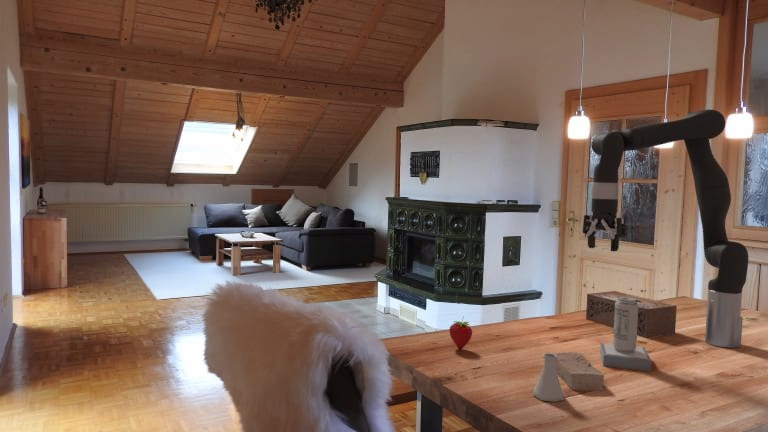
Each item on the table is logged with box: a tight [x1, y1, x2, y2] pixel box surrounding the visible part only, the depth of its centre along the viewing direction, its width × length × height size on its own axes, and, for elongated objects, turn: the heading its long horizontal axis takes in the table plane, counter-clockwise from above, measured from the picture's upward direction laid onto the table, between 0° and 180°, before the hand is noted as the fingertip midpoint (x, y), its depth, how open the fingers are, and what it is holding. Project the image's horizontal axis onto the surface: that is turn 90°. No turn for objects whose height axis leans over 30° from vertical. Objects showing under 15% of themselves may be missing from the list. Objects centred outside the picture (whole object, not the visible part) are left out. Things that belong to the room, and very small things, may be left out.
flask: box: [533, 352, 565, 403], centre depth 126 cm, size 7×7×10 cm
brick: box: [552, 351, 605, 392], centre depth 139 cm, size 17×8×5 cm, turn 1°
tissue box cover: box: [585, 290, 678, 339], centre depth 192 cm, size 26×14×10 cm, turn 25°
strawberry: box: [448, 315, 473, 350], centre depth 161 cm, size 6×8×10 cm
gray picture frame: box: [599, 342, 652, 372], centre depth 153 cm, size 12×12×3 cm
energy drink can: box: [612, 297, 638, 353], centre depth 152 cm, size 6×6×15 cm
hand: (602, 249), depth 167 cm, fingers open, 8 cm apart
